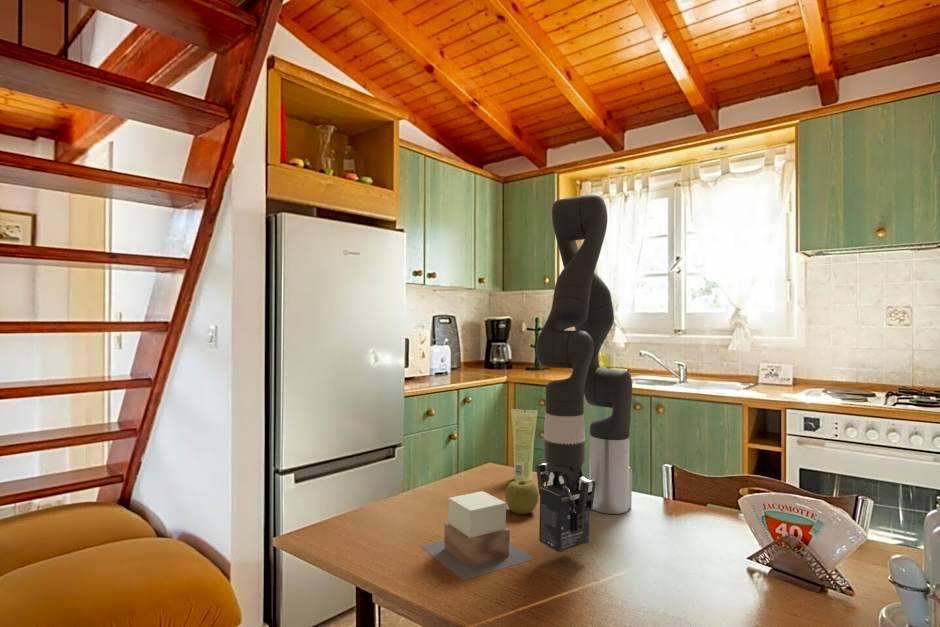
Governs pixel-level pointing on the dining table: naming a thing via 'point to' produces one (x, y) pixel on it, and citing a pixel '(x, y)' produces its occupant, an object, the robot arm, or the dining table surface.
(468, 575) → the mat
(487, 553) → the block base
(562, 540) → the box
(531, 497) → the apple
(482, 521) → the block top
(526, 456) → the tube
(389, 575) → the dining table surface
